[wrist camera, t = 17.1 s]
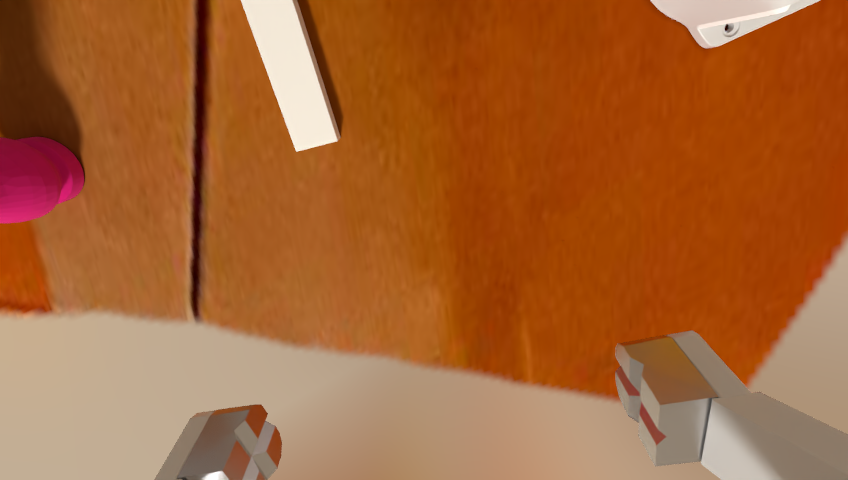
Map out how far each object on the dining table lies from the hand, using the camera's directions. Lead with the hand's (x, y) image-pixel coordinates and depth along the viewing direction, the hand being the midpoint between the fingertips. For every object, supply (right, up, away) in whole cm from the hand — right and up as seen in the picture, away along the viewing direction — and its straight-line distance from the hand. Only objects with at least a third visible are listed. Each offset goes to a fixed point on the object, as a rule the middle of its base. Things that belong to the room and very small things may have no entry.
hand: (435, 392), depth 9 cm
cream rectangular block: (-13, +23, +26) cm, 37 cm away
